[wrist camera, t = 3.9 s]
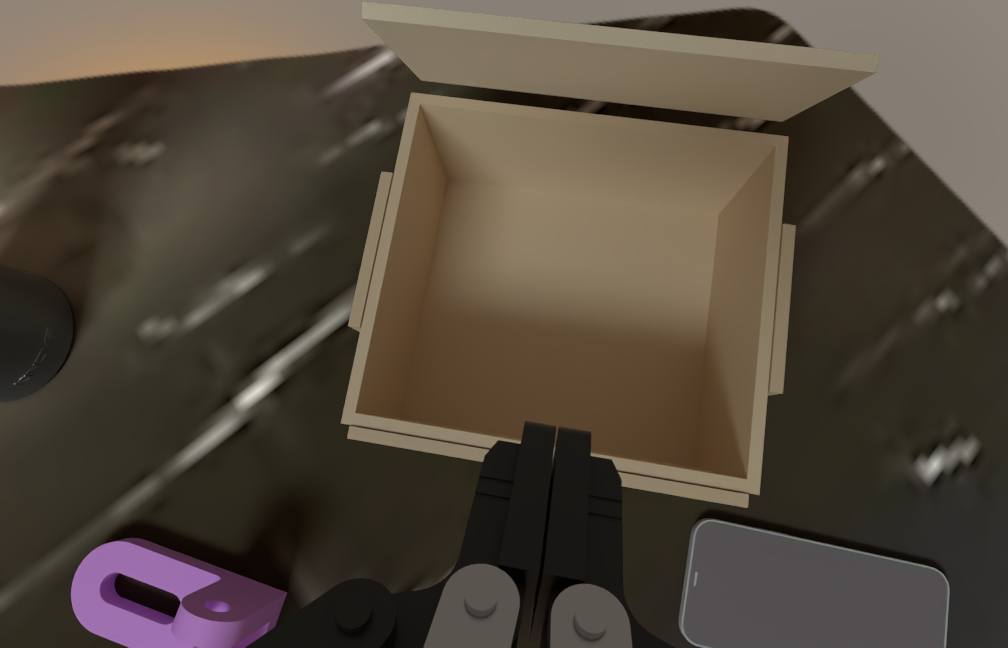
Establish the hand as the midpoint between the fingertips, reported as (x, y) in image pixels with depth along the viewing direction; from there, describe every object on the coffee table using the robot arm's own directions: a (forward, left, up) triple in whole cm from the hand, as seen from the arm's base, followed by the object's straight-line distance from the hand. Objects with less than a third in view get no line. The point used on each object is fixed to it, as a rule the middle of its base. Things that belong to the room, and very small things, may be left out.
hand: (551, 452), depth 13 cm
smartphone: (+19, -2, -25) cm, 31 cm away
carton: (-2, +8, -24) cm, 26 cm away
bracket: (-17, -19, -25) cm, 36 cm away
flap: (-4, +16, -10) cm, 19 cm away
